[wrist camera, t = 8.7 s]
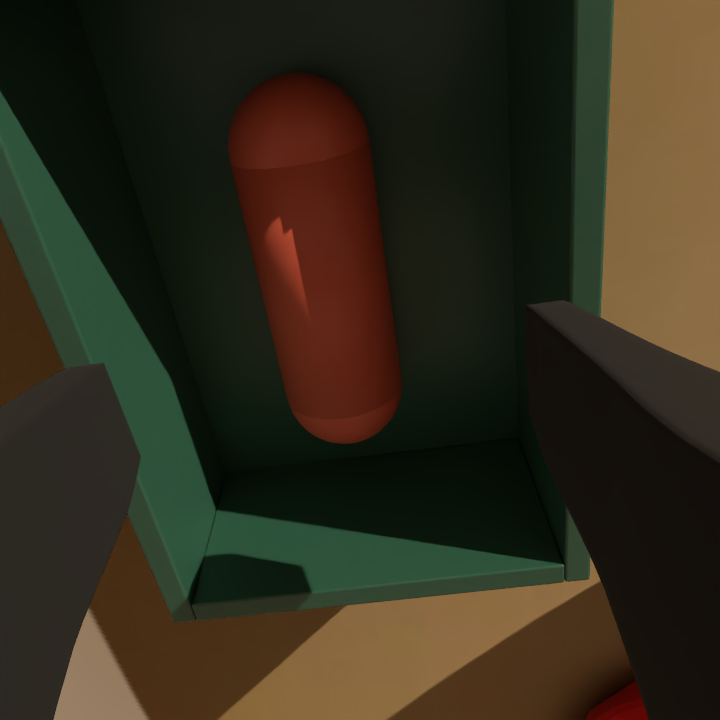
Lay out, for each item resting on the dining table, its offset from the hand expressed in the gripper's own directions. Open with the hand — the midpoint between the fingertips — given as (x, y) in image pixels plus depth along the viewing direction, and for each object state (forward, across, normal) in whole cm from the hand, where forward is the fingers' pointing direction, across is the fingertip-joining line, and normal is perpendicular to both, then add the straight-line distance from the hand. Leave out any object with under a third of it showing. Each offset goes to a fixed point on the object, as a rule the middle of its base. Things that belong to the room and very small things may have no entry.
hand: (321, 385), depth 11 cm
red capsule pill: (+6, 0, 0) cm, 6 cm away
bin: (+7, 0, 0) cm, 7 cm away
